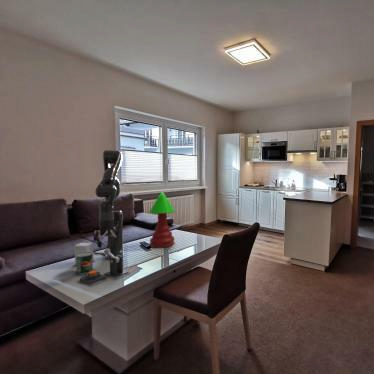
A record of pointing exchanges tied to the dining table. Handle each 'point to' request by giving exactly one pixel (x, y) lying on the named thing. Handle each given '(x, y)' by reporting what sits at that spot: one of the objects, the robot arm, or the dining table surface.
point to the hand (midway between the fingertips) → (107, 245)
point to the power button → (92, 272)
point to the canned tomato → (84, 262)
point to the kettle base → (116, 267)
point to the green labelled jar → (83, 249)
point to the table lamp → (162, 223)
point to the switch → (107, 251)
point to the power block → (92, 278)
